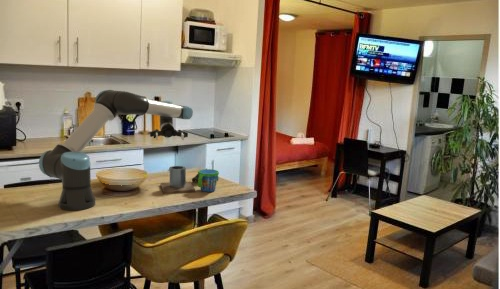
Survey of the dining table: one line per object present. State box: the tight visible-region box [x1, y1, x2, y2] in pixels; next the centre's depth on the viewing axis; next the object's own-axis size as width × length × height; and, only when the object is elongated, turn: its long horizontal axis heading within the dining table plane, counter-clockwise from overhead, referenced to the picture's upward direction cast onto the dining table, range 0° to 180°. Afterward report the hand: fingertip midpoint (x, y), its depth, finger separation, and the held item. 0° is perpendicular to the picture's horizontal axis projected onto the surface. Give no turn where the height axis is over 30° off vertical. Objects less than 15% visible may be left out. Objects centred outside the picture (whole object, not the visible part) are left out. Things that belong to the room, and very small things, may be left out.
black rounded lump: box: [191, 169, 204, 183], centre depth 230 cm, size 11×9×10 cm
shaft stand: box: [160, 181, 196, 195], centre depth 216 cm, size 16×16×6 cm
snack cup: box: [197, 168, 220, 193], centre depth 214 cm, size 16×10×10 cm
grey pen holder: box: [169, 165, 187, 189], centre depth 215 cm, size 8×8×10 cm
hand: (170, 137), depth 218 cm, fingers open, 13 cm apart
